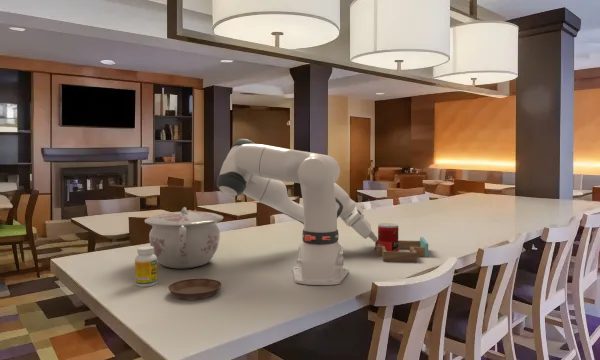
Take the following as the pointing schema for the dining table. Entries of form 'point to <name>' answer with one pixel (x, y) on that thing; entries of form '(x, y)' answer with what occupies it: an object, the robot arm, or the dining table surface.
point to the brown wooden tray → (404, 247)
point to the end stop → (424, 245)
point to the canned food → (388, 236)
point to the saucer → (194, 288)
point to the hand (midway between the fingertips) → (376, 240)
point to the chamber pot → (184, 238)
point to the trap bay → (399, 256)
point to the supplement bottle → (146, 267)
